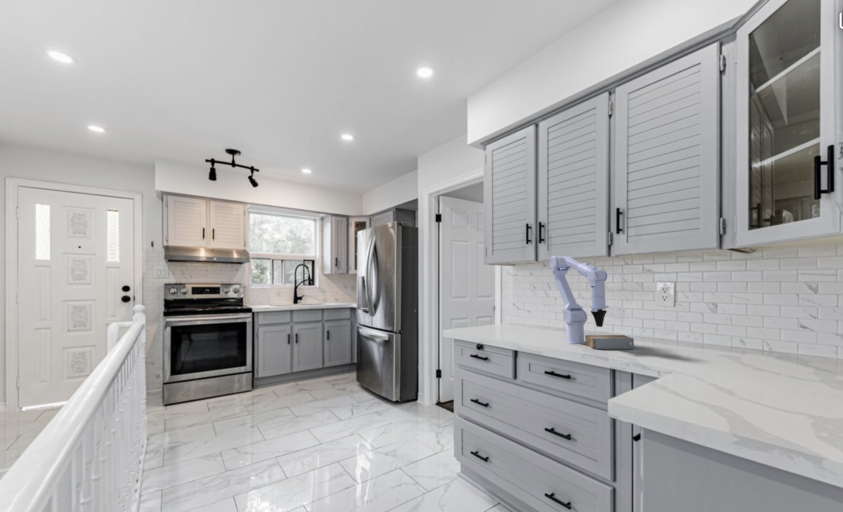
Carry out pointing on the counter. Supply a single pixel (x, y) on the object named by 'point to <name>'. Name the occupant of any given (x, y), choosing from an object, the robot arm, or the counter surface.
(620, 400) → the counter surface
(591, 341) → the cabinet
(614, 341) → the door
